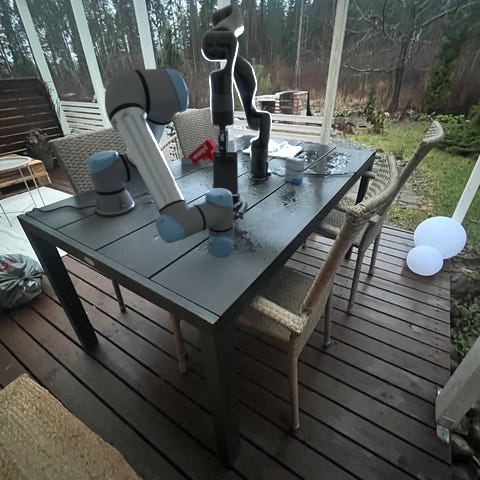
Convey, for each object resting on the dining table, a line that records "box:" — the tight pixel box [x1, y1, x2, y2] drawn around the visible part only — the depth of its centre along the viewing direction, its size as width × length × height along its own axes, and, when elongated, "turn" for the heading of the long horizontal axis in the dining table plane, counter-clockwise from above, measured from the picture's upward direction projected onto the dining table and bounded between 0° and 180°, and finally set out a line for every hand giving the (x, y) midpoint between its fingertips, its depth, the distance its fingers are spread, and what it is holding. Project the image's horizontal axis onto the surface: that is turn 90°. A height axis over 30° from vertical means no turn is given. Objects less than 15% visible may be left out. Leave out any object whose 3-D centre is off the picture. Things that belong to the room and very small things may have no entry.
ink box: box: [284, 156, 306, 185], centre depth 140 cm, size 8×5×12 cm, turn 47°
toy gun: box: [188, 138, 217, 164], centre depth 168 cm, size 18×4×15 cm
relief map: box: [242, 138, 304, 160], centre depth 192 cm, size 27×35×5 cm
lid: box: [212, 151, 239, 195], centre depth 100 cm, size 16×9×8 cm
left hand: (226, 196), depth 110 cm, fingers closed on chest, 9 cm apart
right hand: (224, 160), depth 97 cm, fingers open, 5 cm apart
